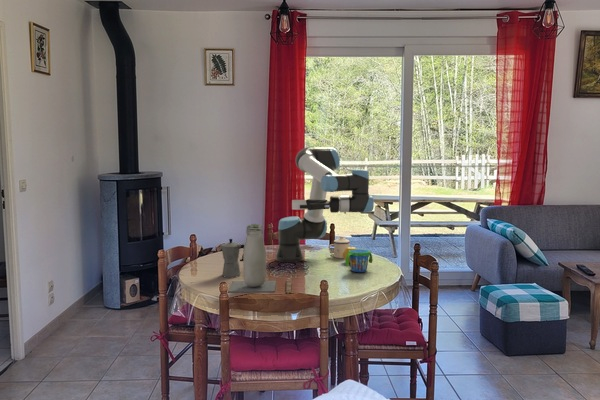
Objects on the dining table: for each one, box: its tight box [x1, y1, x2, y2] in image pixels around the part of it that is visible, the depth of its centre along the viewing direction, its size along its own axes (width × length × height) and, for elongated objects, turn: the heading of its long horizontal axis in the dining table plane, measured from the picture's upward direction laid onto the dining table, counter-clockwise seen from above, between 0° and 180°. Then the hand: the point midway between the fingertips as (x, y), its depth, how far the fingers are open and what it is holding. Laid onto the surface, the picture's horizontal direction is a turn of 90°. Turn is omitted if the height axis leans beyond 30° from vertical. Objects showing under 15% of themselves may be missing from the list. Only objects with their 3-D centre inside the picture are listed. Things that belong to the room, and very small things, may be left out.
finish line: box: [285, 278, 292, 294], centre depth 218 cm, size 20×2×1 cm, turn 1°
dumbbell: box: [343, 246, 357, 264], centre depth 256 cm, size 19×9×8 cm, turn 9°
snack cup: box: [344, 248, 374, 273], centre depth 243 cm, size 16×10×10 cm
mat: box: [227, 280, 277, 293], centre depth 219 cm, size 16×20×1 cm
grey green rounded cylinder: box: [242, 223, 267, 287], centre depth 216 cm, size 10×10×28 cm
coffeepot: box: [218, 238, 245, 278], centre depth 237 cm, size 15×9×18 cm, turn 68°
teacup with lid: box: [328, 235, 351, 259], centre depth 276 cm, size 12×9×12 cm
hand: (291, 204), depth 222 cm, fingers open, 13 cm apart
